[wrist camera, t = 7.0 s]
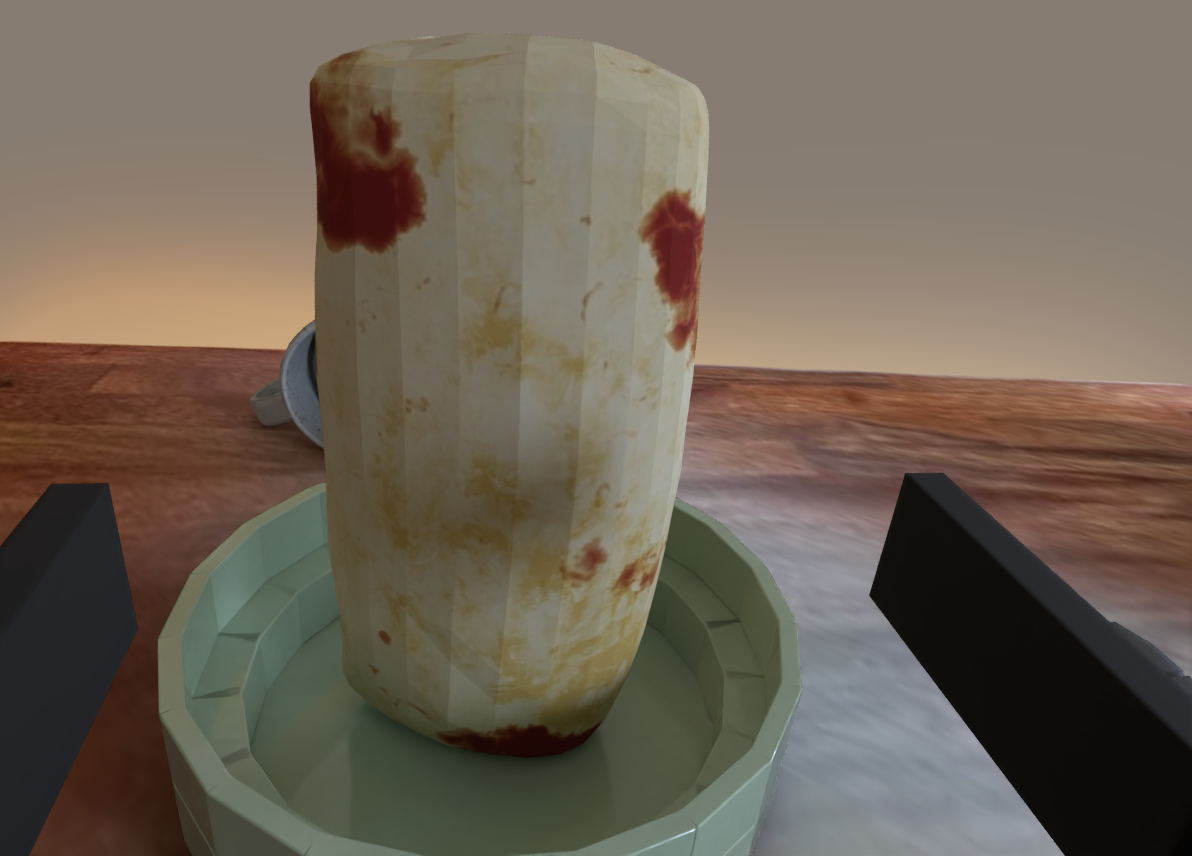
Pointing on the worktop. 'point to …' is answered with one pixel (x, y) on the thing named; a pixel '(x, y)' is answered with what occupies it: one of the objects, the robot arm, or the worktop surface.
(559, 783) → the bowl
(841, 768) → the worktop surface
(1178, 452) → the worktop surface
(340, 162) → the food model
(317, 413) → the ceramic mug
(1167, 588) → the worktop surface
